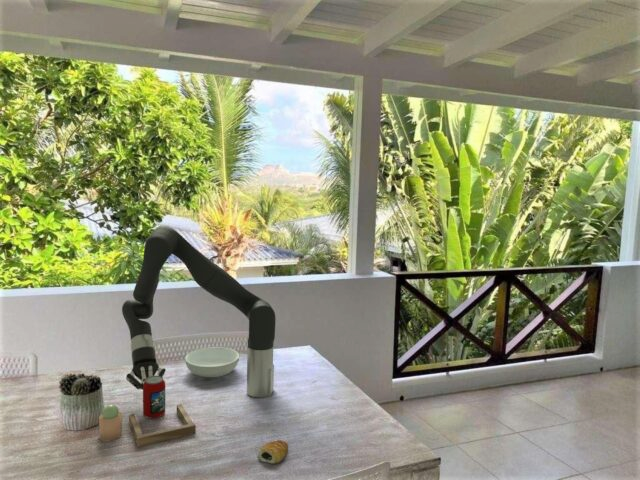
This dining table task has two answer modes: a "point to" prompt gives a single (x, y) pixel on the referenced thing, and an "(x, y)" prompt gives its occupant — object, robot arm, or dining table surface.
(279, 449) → the pastry
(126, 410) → the dining table surface
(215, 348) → the serving bowl
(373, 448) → the dining table surface
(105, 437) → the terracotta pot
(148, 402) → the beverage can
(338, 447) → the dining table surface
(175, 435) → the corral
